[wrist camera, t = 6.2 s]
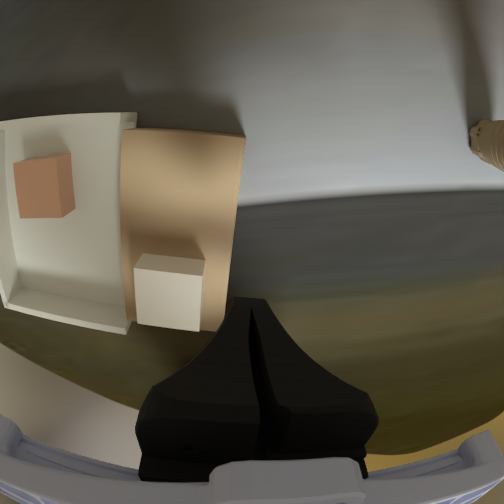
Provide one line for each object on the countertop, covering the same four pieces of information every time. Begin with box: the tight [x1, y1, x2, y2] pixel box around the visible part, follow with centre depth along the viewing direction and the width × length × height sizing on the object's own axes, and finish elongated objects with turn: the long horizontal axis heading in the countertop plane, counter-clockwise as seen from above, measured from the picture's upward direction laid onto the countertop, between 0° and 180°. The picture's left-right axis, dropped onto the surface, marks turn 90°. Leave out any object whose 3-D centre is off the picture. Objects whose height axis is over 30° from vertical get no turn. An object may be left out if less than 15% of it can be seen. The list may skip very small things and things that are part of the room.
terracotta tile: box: [13, 153, 76, 219], centre depth 18 cm, size 4×4×2 cm
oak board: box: [120, 128, 246, 332], centre depth 20 cm, size 13×7×2 cm, turn 172°
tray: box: [0, 112, 138, 335], centre depth 19 cm, size 15×12×3 cm
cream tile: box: [134, 253, 206, 332], centre depth 19 cm, size 4×4×2 cm
